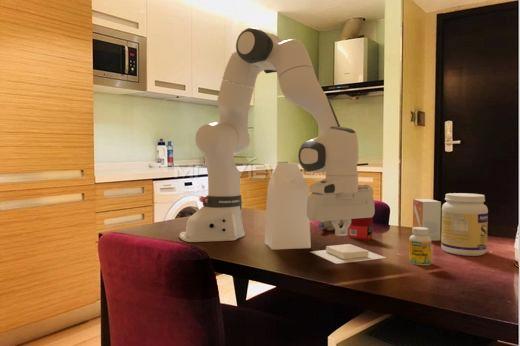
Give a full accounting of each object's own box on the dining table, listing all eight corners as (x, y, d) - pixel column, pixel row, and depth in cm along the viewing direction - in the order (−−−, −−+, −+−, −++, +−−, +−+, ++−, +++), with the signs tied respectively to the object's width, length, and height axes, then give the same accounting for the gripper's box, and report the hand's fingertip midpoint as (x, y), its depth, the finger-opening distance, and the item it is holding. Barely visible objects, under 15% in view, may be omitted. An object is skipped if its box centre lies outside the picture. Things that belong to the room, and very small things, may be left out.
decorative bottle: (334, 222, 174) (335, 206, 174) (352, 224, 170) (352, 208, 170) (308, 233, 152) (309, 214, 152) (328, 235, 148) (328, 216, 148)
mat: (336, 265, 108) (336, 263, 108) (309, 253, 121) (309, 251, 121) (386, 259, 115) (386, 257, 115) (356, 248, 127) (356, 246, 127)
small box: (412, 235, 147) (412, 198, 146) (429, 235, 147) (430, 198, 146) (421, 240, 139) (422, 201, 138) (440, 240, 139) (441, 201, 138)
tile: (343, 253, 112) (368, 250, 115) (326, 246, 120) (349, 243, 123) (343, 259, 112) (368, 256, 115) (325, 252, 121) (349, 249, 124)
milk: (300, 241, 138) (301, 162, 136) (310, 249, 126) (311, 163, 125) (264, 243, 135) (264, 162, 134) (271, 251, 124) (271, 163, 123)
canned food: (373, 241, 138) (373, 208, 137) (348, 240, 139) (348, 207, 139) (371, 236, 145) (372, 205, 145) (348, 235, 147) (348, 204, 146)
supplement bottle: (430, 262, 111) (431, 227, 111) (431, 268, 106) (431, 230, 106) (409, 261, 113) (409, 225, 113) (408, 266, 108) (409, 229, 108)
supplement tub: (486, 259, 116) (488, 197, 115) (438, 253, 122) (439, 195, 121) (487, 249, 126) (488, 193, 125) (443, 245, 132) (444, 191, 131)
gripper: (366, 183, 123) (365, 230, 124) (304, 185, 115) (303, 235, 116) (379, 185, 117) (379, 234, 118) (315, 187, 109) (315, 240, 110)
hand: (341, 235), depth 117 cm, fingers closed
